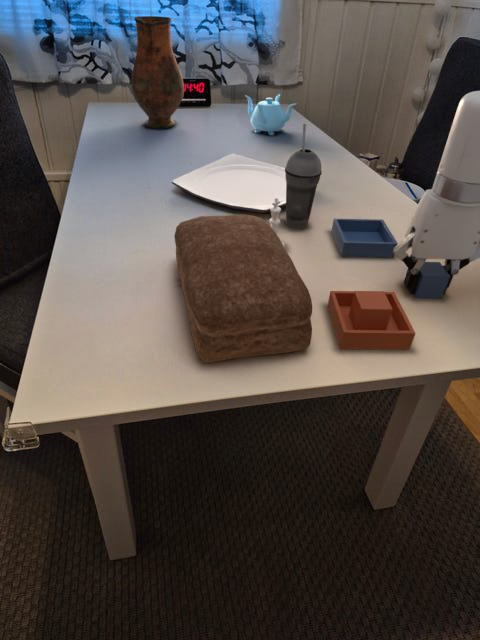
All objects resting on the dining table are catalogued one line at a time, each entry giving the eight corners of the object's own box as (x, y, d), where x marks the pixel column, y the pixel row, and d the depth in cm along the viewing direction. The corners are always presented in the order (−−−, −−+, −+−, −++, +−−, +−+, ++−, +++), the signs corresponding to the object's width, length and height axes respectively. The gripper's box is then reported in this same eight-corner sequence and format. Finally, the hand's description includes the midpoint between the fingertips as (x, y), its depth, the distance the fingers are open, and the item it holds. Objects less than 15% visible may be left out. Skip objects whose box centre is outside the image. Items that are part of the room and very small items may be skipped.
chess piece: (254, 247, 86) (257, 197, 80) (271, 239, 89) (275, 190, 83) (273, 256, 83) (278, 206, 77) (290, 248, 86) (295, 199, 80)
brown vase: (130, 130, 143) (117, 18, 124) (143, 113, 160) (134, 12, 141) (181, 133, 143) (177, 21, 124) (189, 115, 160) (186, 15, 141)
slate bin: (379, 233, 93) (383, 219, 91) (394, 258, 85) (398, 243, 83) (331, 232, 92) (333, 218, 90) (341, 257, 84) (344, 242, 82)
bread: (262, 251, 85) (266, 194, 78) (315, 355, 62) (328, 288, 55) (172, 258, 81) (168, 199, 74) (194, 370, 59) (192, 301, 52)
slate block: (431, 283, 78) (439, 261, 75) (441, 298, 75) (450, 276, 72) (406, 283, 78) (413, 261, 75) (415, 298, 74) (423, 275, 72)
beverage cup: (295, 236, 90) (307, 133, 78) (272, 222, 95) (281, 123, 82) (320, 227, 94) (337, 127, 81) (297, 214, 98) (309, 118, 86)
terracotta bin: (389, 307, 72) (394, 291, 70) (409, 349, 64) (415, 333, 62) (327, 306, 72) (330, 290, 70) (339, 348, 64) (343, 332, 62)
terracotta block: (377, 314, 69) (384, 291, 67) (385, 333, 66) (392, 309, 63) (348, 314, 69) (354, 290, 66) (355, 333, 66) (361, 308, 63)
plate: (324, 185, 112) (325, 175, 111) (266, 226, 93) (267, 214, 92) (231, 160, 124) (231, 151, 122) (162, 192, 105) (162, 181, 103)
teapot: (243, 126, 151) (244, 94, 145) (279, 124, 155) (281, 92, 149) (256, 137, 142) (257, 103, 136) (294, 135, 145) (297, 101, 139)
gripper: (504, 179, 68) (463, 279, 79) (396, 175, 67) (369, 277, 79) (530, 198, 62) (481, 304, 74) (412, 195, 61) (381, 302, 73)
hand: (424, 289), depth 76 cm, fingers closed on slate block, 4 cm apart
